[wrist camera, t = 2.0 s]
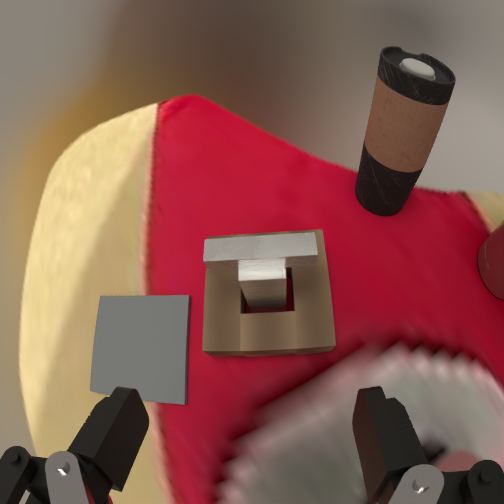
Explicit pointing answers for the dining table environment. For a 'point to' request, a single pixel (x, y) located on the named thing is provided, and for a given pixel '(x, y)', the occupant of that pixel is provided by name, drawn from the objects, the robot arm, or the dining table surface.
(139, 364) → the grey mat
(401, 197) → the travel mug
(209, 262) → the t key
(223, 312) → the socket block
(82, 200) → the dining table surface
